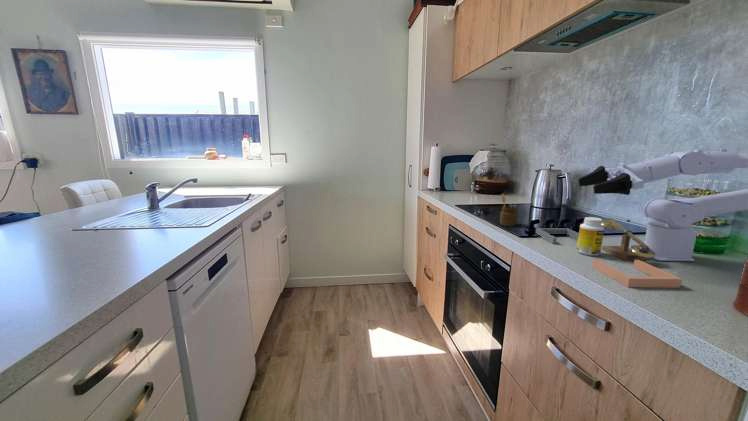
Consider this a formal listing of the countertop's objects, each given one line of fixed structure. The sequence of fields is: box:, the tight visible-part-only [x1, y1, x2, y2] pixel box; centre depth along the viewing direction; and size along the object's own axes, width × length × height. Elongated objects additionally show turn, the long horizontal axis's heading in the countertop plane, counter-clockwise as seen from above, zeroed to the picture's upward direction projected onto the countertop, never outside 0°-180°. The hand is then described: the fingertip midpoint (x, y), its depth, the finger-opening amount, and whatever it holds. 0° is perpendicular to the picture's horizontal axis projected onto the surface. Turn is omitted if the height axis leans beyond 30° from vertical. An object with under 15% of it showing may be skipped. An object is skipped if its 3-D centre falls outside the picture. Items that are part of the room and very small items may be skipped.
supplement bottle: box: [576, 216, 605, 257], centre depth 82 cm, size 6×6×10 cm
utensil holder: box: [499, 192, 518, 227], centre depth 114 cm, size 6×6×12 cm
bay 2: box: [591, 258, 683, 289], centre depth 68 cm, size 11×11×2 cm
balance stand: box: [601, 234, 648, 261], centre depth 81 cm, size 6×8×6 cm
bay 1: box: [534, 227, 579, 245], centre depth 96 cm, size 11×11×2 cm
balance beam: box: [601, 217, 655, 259], centre depth 81 cm, size 5×18×2 cm, turn 178°
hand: (586, 186), depth 80 cm, fingers open, 7 cm apart
